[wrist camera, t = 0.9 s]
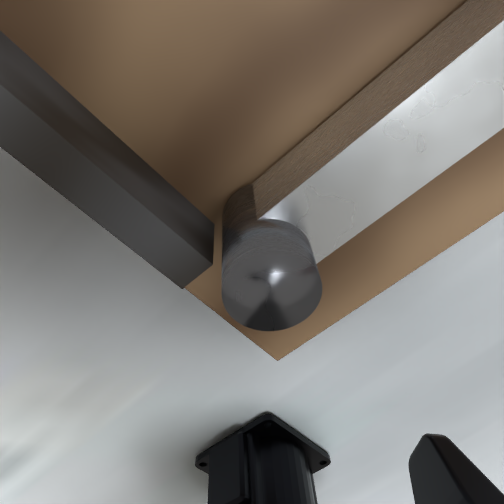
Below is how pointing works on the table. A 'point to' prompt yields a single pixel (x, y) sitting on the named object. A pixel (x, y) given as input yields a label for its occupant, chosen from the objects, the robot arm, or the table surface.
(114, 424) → the table surface
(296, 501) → the robot arm
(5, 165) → the table surface
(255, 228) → the bar
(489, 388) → the table surface
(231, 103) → the board
